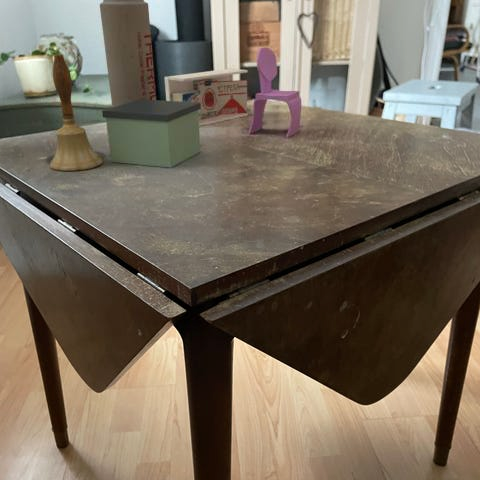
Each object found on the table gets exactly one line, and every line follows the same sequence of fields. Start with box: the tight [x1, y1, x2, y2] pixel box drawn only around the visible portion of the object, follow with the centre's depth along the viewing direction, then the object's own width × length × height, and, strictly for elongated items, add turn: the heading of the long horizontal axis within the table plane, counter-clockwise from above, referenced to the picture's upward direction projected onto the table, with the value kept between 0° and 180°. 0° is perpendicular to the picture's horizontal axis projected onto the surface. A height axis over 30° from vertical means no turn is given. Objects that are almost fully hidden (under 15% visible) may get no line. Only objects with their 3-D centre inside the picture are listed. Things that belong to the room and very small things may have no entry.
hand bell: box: [49, 54, 103, 172], centre depth 83 cm, size 8×8×16 cm
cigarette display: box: [164, 68, 249, 127], centre depth 116 cm, size 20×6×9 cm, turn 136°
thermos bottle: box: [99, 0, 157, 108], centre depth 94 cm, size 8×8×28 cm
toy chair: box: [247, 46, 302, 139], centre depth 102 cm, size 8×9×15 cm
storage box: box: [101, 99, 201, 169], centre depth 89 cm, size 12×12×8 cm
